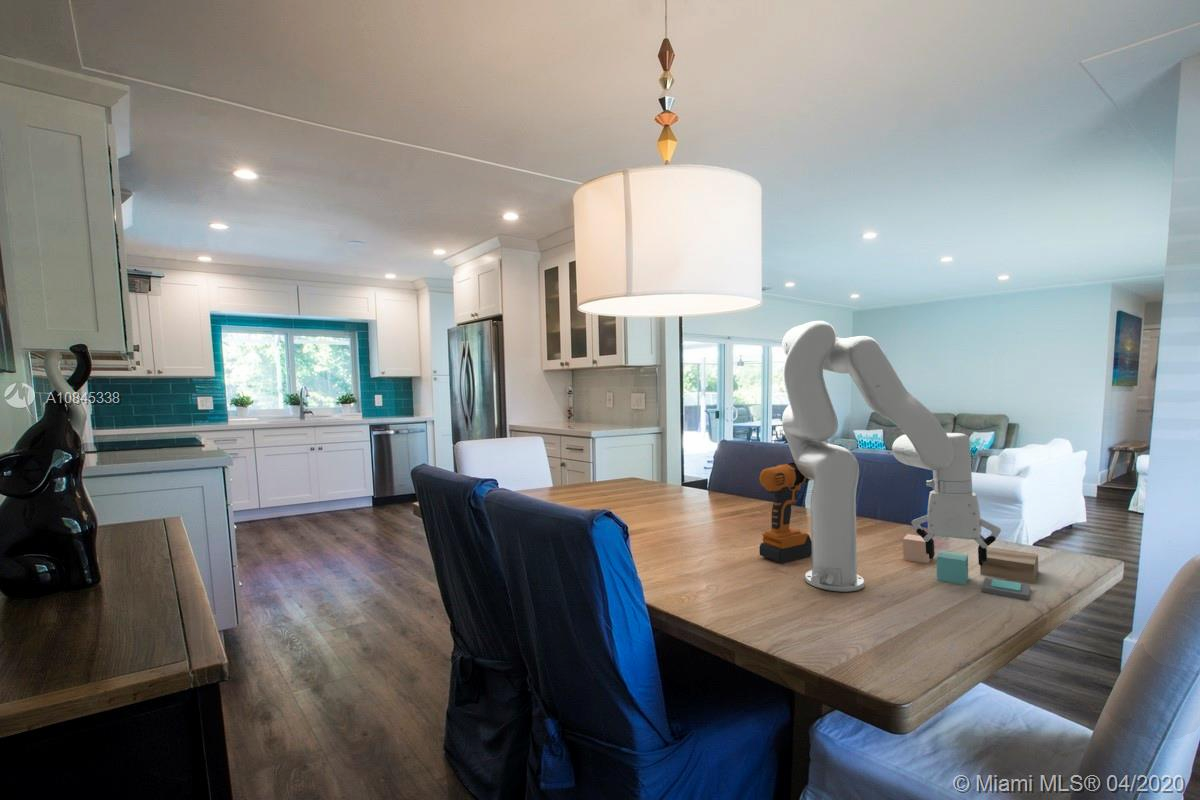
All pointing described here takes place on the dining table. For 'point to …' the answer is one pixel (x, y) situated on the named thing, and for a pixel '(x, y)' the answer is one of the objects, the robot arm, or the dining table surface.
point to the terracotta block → (915, 549)
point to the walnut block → (1010, 565)
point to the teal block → (952, 567)
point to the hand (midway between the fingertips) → (955, 560)
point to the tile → (1006, 588)
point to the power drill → (784, 515)
